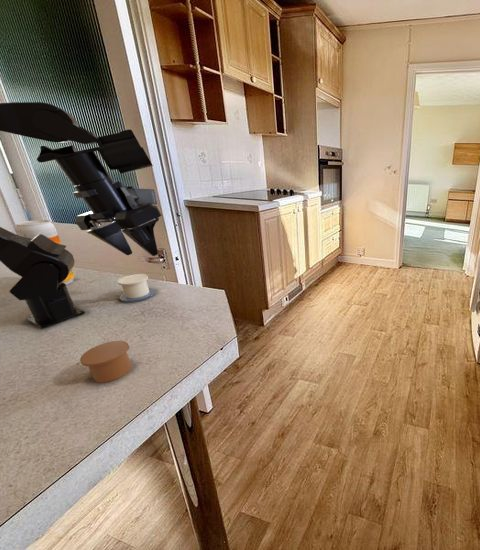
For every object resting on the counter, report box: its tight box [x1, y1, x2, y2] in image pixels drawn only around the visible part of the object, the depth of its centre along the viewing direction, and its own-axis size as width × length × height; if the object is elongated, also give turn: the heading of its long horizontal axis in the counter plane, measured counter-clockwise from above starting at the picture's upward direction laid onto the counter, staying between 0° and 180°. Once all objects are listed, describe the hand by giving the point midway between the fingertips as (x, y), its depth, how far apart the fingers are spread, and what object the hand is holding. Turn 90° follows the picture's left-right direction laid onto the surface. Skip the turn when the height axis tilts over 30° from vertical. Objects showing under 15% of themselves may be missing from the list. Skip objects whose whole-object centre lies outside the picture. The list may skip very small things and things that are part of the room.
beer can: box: [14, 219, 75, 285], centre depth 68 cm, size 6×6×15 cm
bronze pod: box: [79, 340, 133, 384], centre depth 43 cm, size 5×5×4 cm
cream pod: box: [117, 273, 150, 298], centre depth 65 cm, size 5×5×4 cm
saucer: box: [119, 287, 156, 303], centre depth 66 cm, size 6×6×1 cm
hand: (142, 254), depth 61 cm, fingers open, 9 cm apart
